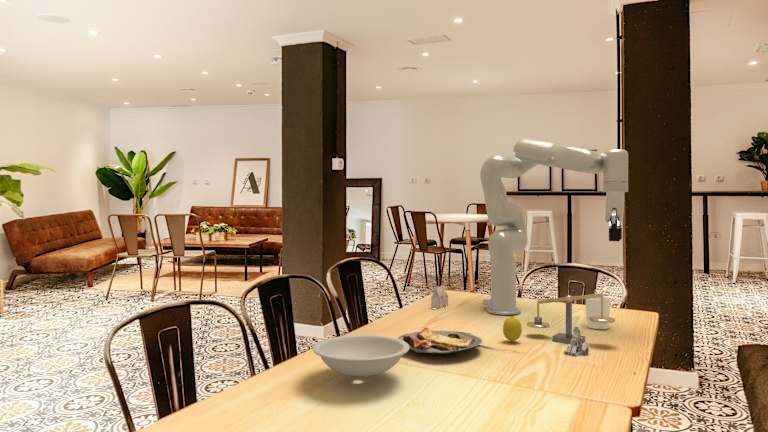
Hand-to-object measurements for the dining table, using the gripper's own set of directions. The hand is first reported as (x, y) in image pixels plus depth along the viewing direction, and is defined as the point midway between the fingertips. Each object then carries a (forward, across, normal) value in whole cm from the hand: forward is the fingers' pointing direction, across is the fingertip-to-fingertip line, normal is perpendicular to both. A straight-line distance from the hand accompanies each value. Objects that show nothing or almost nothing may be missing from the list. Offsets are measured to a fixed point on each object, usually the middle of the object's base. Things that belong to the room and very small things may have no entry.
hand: (615, 240), depth 172 cm
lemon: (+30, +27, -27) cm, 49 cm away
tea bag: (+31, -9, -65) cm, 72 cm away
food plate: (+31, +41, -45) cm, 69 cm away
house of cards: (+31, +33, -6) cm, 45 cm away
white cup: (+31, -6, -6) cm, 32 cm away
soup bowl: (+31, +74, -53) cm, 96 cm away
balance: (+30, +18, -12) cm, 37 cm away
